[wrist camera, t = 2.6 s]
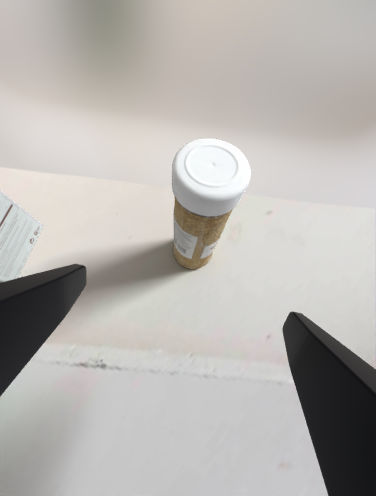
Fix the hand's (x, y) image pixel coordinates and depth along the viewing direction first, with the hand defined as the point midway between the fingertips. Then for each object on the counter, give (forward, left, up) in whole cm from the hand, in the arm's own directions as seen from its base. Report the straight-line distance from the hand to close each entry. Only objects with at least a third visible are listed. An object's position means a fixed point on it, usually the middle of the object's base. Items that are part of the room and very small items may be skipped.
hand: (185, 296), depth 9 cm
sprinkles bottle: (+4, +6, -13) cm, 15 cm away
